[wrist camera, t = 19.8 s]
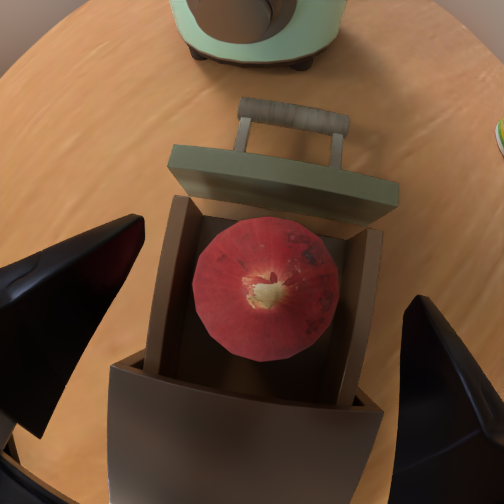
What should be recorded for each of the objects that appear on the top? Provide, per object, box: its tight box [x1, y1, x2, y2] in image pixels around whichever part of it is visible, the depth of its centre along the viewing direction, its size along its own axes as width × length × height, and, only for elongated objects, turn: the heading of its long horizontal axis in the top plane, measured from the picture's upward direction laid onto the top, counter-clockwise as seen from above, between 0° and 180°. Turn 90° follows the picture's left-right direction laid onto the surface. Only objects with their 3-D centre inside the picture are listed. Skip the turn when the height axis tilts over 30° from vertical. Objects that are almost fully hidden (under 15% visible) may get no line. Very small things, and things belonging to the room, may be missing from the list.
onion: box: [192, 216, 339, 362], centre depth 12 cm, size 6×6×8 cm
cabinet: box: [107, 348, 384, 504], centre depth 13 cm, size 14×12×6 cm
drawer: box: [143, 97, 399, 406], centre depth 15 cm, size 18×11×5 cm, turn 170°
